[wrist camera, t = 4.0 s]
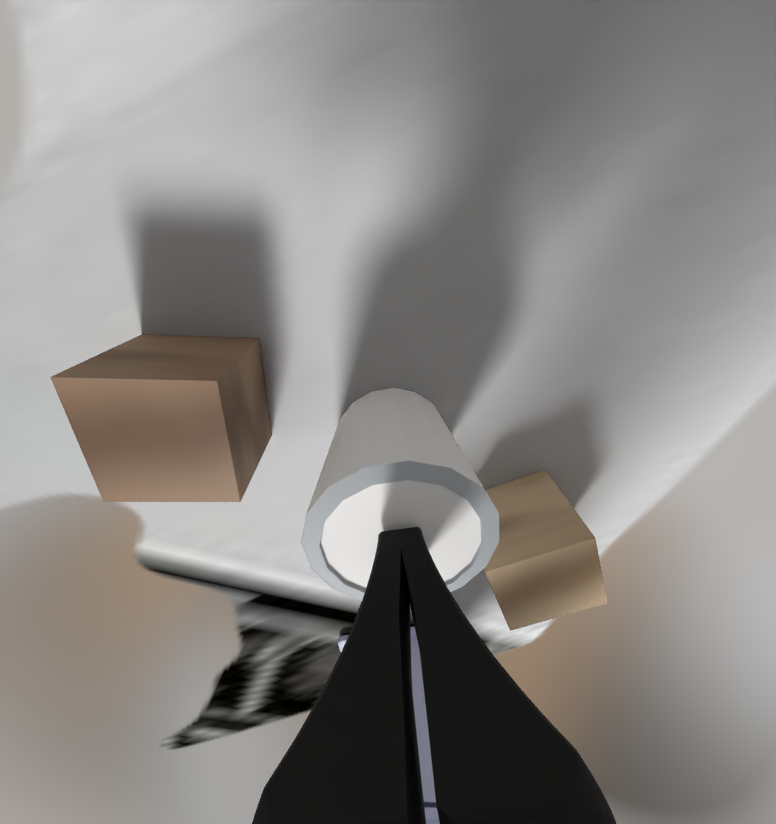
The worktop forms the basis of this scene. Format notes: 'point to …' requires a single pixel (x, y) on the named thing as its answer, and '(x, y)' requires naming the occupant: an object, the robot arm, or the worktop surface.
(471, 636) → the robot arm
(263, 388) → the walnut block
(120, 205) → the worktop surface
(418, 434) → the white cup
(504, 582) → the oak block
